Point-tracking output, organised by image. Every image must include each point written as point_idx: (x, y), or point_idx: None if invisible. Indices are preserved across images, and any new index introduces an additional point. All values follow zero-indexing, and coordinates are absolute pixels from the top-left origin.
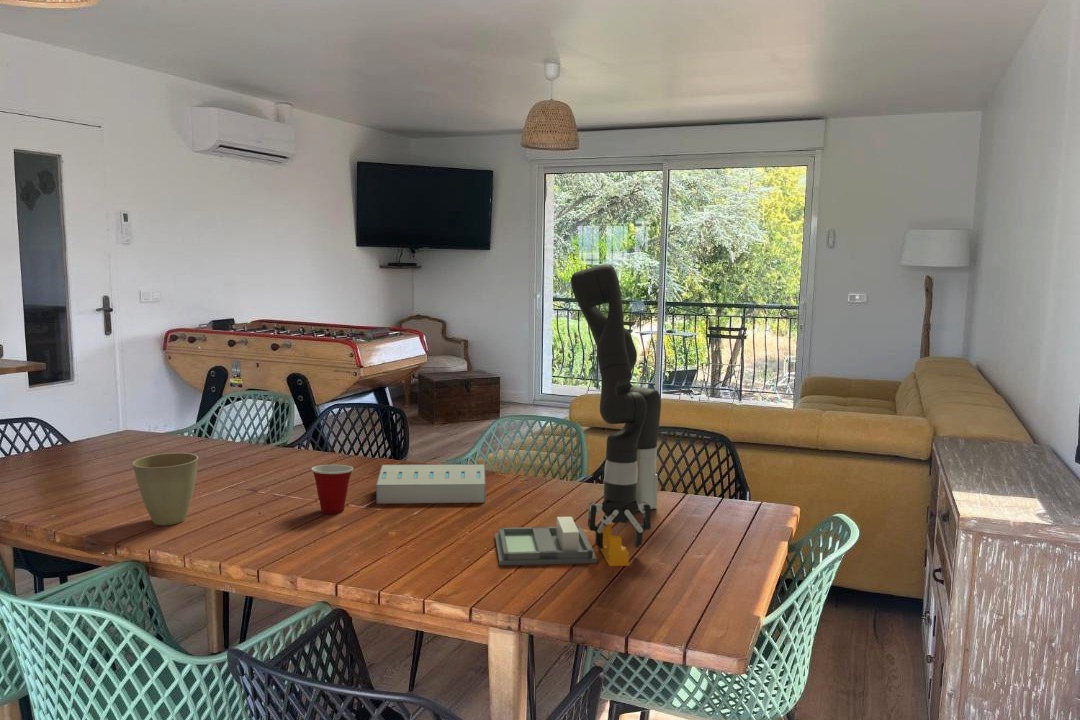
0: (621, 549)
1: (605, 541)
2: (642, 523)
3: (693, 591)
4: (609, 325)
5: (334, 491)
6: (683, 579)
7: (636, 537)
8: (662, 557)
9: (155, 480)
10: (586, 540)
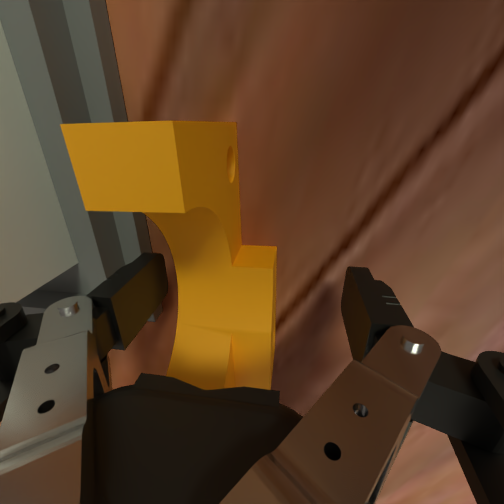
0: (244, 361)
1: (181, 237)
2: (465, 398)
3: (403, 501)
4: None
5: None
6: (420, 455)
7: (351, 349)
8: (464, 299)
9: None
10: (78, 195)
